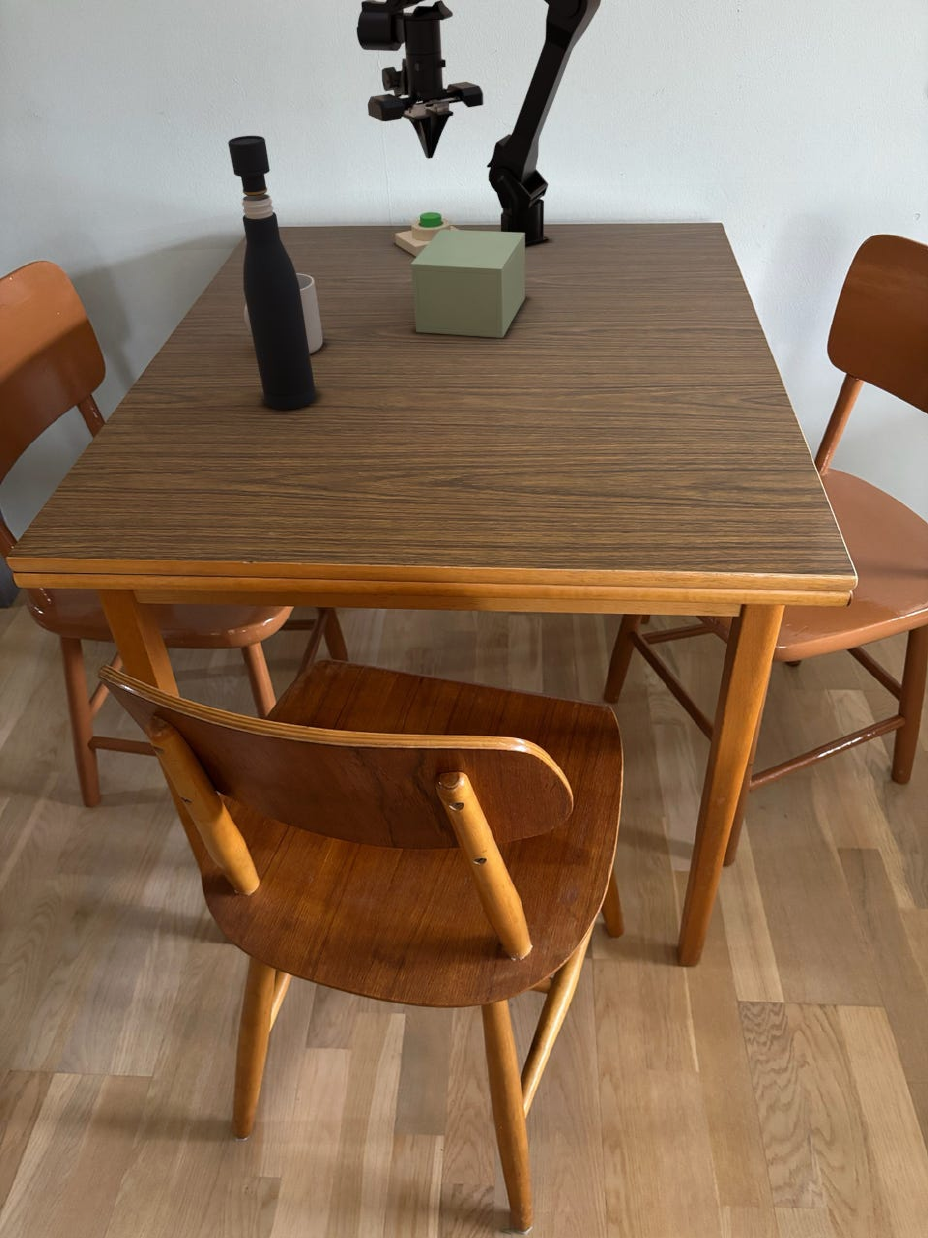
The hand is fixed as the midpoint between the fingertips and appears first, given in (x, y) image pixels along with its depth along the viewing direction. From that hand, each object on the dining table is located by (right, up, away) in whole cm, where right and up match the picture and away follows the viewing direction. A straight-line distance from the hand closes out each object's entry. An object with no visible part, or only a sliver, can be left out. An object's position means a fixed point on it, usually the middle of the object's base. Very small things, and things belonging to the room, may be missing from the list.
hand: (429, 157), depth 162 cm
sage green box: (+7, -34, -23) cm, 41 cm away
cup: (-19, -41, -29) cm, 53 cm away
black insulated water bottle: (-16, -50, -41) cm, 67 cm away
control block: (0, -14, +2) cm, 14 cm away
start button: (0, -11, 0) cm, 11 cm away
